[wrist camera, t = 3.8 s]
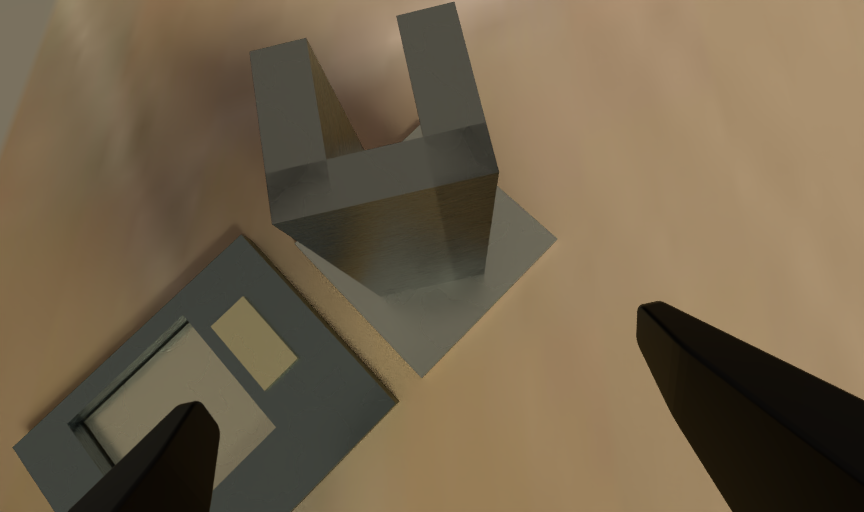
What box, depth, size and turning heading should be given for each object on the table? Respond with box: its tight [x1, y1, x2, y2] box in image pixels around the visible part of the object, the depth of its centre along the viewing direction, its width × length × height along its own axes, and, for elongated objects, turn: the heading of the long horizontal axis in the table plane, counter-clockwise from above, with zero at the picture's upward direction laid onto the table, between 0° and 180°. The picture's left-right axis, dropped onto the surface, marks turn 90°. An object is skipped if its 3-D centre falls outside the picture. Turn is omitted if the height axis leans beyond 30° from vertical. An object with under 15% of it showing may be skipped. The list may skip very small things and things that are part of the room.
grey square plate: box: [295, 125, 557, 378], centre depth 22 cm, size 9×9×1 cm
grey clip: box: [250, 2, 499, 297], centre depth 16 cm, size 4×5×12 cm
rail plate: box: [13, 235, 399, 512], centre depth 21 cm, size 11×14×1 cm
